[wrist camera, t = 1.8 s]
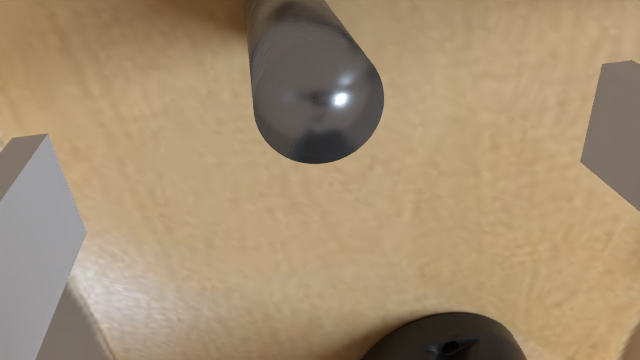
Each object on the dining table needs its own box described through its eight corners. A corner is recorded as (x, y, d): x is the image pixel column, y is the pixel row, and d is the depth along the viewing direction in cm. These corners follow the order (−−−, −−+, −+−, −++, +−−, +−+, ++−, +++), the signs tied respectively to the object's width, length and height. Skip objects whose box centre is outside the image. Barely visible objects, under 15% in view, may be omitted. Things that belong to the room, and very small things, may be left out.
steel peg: (287, 58, 29) (326, 185, 17) (229, 13, 27) (226, 117, 15) (334, 1, 28) (410, 94, 16) (275, -50, 26) (312, 10, 14)
